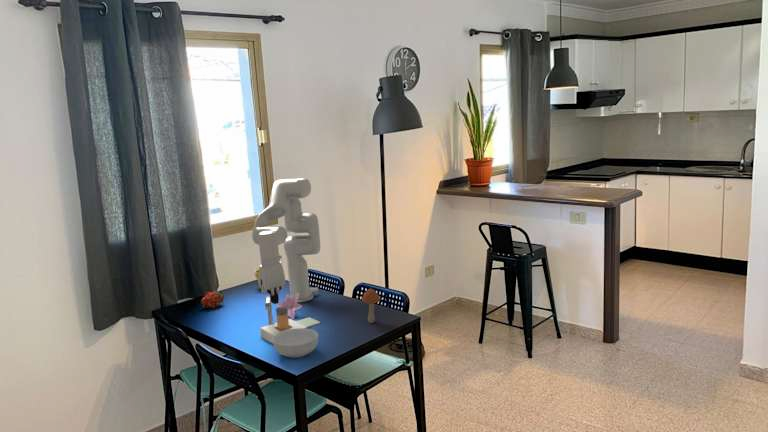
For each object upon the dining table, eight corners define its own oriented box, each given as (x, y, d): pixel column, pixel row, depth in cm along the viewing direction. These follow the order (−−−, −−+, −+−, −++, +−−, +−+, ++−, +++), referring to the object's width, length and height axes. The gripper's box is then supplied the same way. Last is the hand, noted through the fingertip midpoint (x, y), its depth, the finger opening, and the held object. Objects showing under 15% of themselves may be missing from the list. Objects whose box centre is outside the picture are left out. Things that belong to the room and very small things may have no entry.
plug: (286, 333, 246) (283, 306, 244) (292, 336, 243) (289, 308, 240) (276, 336, 243) (273, 308, 241) (282, 339, 240) (279, 311, 238)
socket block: (284, 324, 257) (281, 295, 255) (307, 336, 242) (305, 305, 239) (254, 333, 249) (251, 303, 246) (277, 346, 233) (274, 314, 231)
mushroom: (384, 319, 256) (382, 285, 253) (378, 326, 248) (375, 291, 245) (367, 318, 258) (364, 285, 255) (360, 324, 251) (358, 290, 248)
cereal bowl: (280, 367, 215) (278, 348, 213) (270, 350, 230) (268, 333, 228) (325, 356, 221) (323, 338, 220) (312, 341, 236) (310, 324, 235)
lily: (276, 315, 272) (270, 301, 266) (296, 300, 277) (291, 286, 271) (291, 329, 264) (285, 315, 258) (311, 313, 270) (306, 299, 263)
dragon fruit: (227, 307, 289) (203, 316, 284) (220, 294, 294) (197, 303, 288) (226, 297, 283) (202, 306, 278) (220, 284, 288) (195, 293, 282)
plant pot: (253, 291, 308) (251, 273, 306) (260, 285, 318) (259, 267, 316) (272, 290, 306) (270, 272, 304) (279, 284, 316) (277, 267, 315)
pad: (309, 318, 262) (309, 317, 262) (320, 323, 255) (320, 322, 255) (291, 323, 257) (291, 322, 257) (302, 329, 250) (302, 327, 250)
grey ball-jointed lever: (265, 298, 250) (264, 293, 250) (272, 298, 251) (271, 293, 250) (264, 309, 236) (263, 304, 236) (271, 309, 237) (270, 303, 236)
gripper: (281, 255, 250) (285, 296, 254) (249, 263, 241) (254, 306, 245) (290, 258, 244) (295, 300, 248) (258, 267, 235) (263, 310, 239)
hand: (275, 302), depth 247 cm, fingers closed
